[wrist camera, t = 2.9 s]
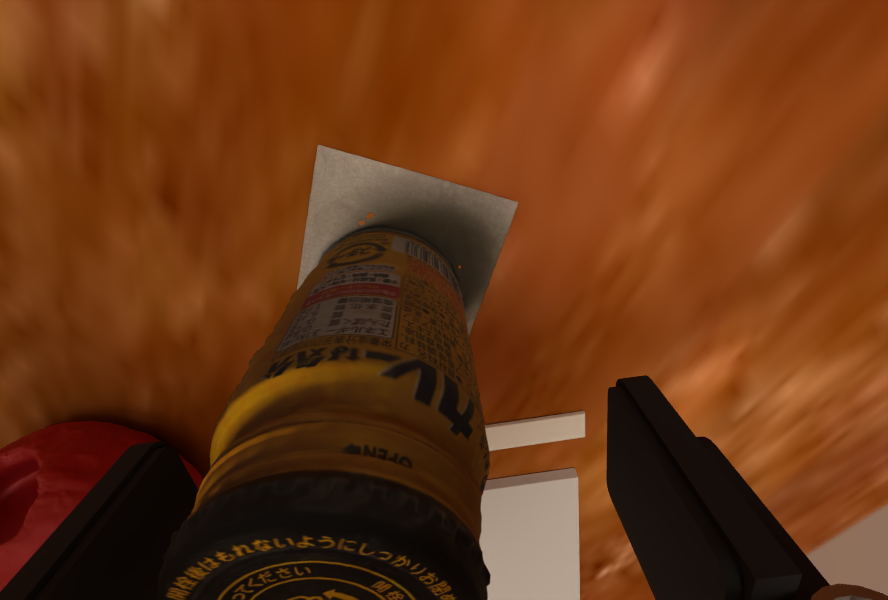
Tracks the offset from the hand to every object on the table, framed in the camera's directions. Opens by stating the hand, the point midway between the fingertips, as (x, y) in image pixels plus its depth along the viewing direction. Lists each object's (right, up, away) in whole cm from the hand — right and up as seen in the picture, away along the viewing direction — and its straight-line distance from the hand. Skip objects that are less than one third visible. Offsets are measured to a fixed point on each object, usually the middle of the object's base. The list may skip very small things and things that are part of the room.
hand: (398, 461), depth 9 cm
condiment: (-1, +4, +8) cm, 9 cm away
